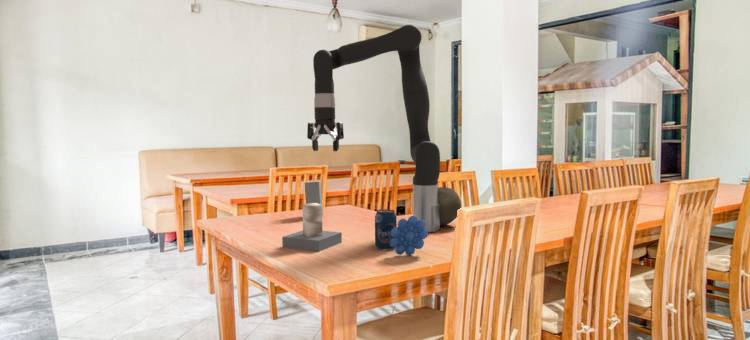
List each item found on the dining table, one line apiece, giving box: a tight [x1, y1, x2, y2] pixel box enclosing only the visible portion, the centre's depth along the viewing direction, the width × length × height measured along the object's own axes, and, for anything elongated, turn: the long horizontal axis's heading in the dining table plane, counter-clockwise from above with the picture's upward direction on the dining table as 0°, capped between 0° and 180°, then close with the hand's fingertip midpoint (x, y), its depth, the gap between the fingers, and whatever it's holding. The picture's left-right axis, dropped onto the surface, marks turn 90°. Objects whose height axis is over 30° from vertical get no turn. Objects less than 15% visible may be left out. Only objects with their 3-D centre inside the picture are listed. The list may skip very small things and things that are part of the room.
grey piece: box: [302, 203, 323, 237], centre depth 168 cm, size 5×5×10 cm
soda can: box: [374, 208, 398, 251], centre depth 163 cm, size 7×7×12 cm
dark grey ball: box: [438, 186, 462, 227], centre depth 199 cm, size 14×14×15 cm
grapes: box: [390, 215, 429, 256], centre depth 154 cm, size 12×7×12 cm, turn 95°
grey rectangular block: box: [304, 180, 324, 217], centre depth 223 cm, size 8×7×16 cm
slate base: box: [281, 230, 343, 252], centre depth 169 cm, size 14×14×4 cm
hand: (325, 151), depth 188 cm, fingers open, 8 cm apart
